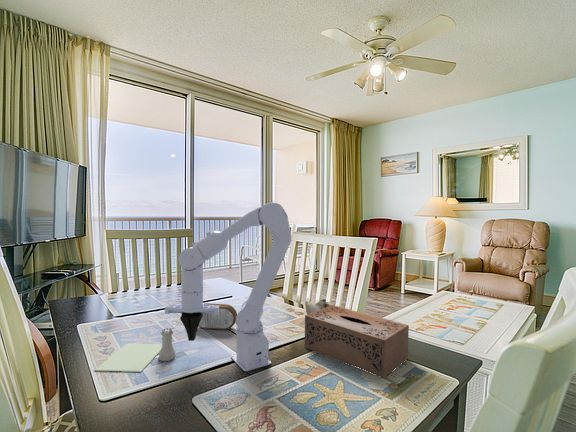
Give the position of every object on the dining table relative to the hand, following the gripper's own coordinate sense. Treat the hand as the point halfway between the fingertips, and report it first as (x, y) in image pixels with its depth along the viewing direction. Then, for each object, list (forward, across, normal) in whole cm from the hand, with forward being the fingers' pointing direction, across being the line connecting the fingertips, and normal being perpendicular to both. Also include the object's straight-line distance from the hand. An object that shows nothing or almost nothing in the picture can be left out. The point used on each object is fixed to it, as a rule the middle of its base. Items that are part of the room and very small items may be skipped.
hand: (192, 339), depth 89 cm
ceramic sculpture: (+6, -40, -31) cm, 51 cm away
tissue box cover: (+6, -46, -6) cm, 47 cm away
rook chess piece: (+6, +7, 0) cm, 9 cm away
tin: (+6, -1, -22) cm, 23 cm away
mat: (+5, +16, 0) cm, 17 cm away
